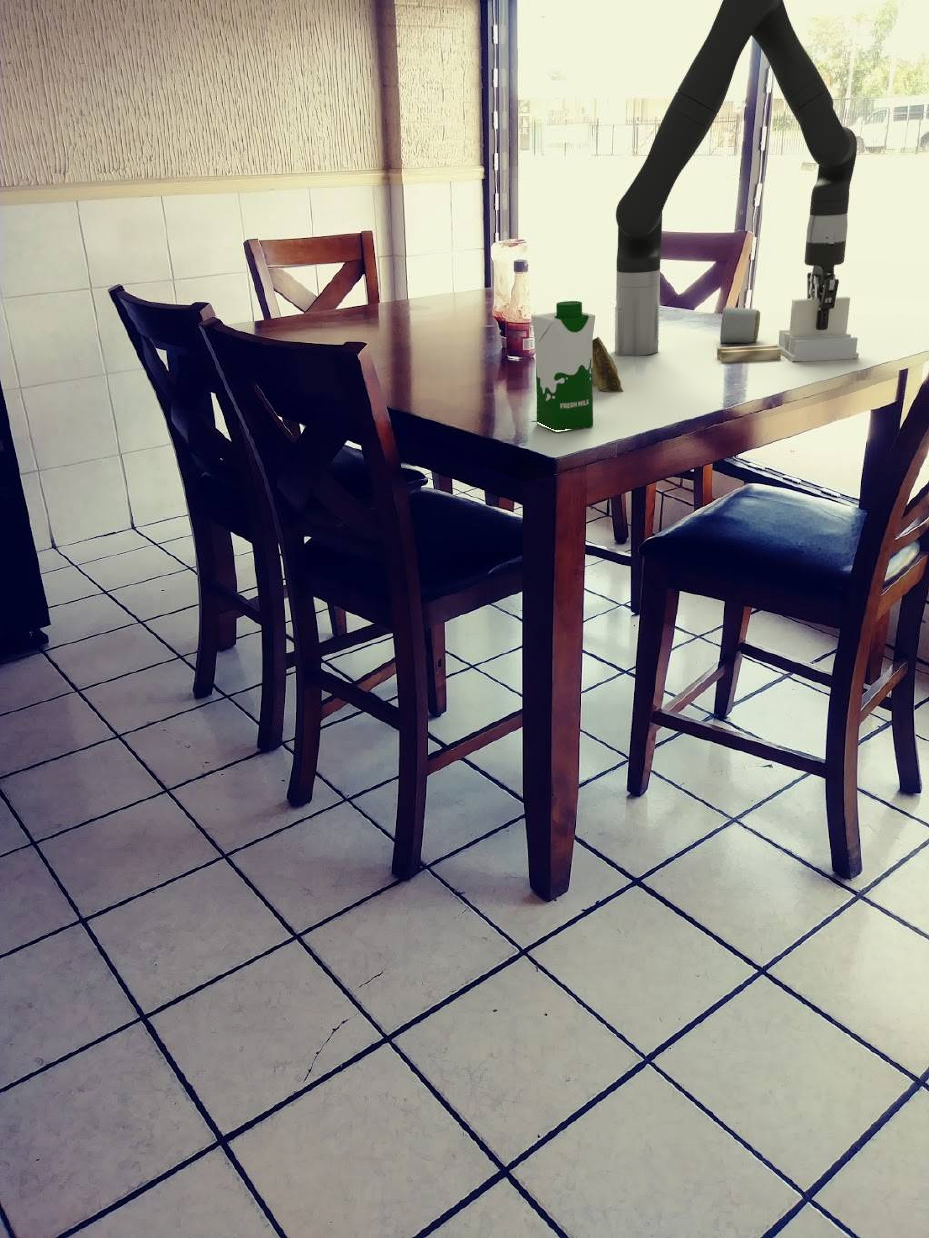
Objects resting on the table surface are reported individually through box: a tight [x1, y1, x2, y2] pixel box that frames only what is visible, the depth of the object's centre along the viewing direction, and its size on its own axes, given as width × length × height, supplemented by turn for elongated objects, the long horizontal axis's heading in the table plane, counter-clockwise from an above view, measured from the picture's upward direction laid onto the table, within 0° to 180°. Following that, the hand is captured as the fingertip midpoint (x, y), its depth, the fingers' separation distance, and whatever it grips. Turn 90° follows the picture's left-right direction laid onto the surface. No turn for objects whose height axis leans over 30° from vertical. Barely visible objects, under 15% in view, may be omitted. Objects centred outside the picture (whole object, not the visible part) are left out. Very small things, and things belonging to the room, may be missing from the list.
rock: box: [592, 336, 624, 392], centre depth 187 cm, size 11×9×10 cm
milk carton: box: [530, 300, 596, 430], centre depth 159 cm, size 9×9×20 cm
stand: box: [716, 344, 782, 363], centre depth 203 cm, size 12×5×2 cm, turn 88°
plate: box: [788, 295, 851, 349], centre depth 201 cm, size 11×2×10 cm, turn 88°
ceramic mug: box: [719, 306, 761, 344], centre depth 219 cm, size 11×8×8 cm
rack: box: [775, 329, 860, 362], centre depth 202 cm, size 13×14×4 cm
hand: (818, 327), depth 201 cm, fingers open, 4 cm apart
